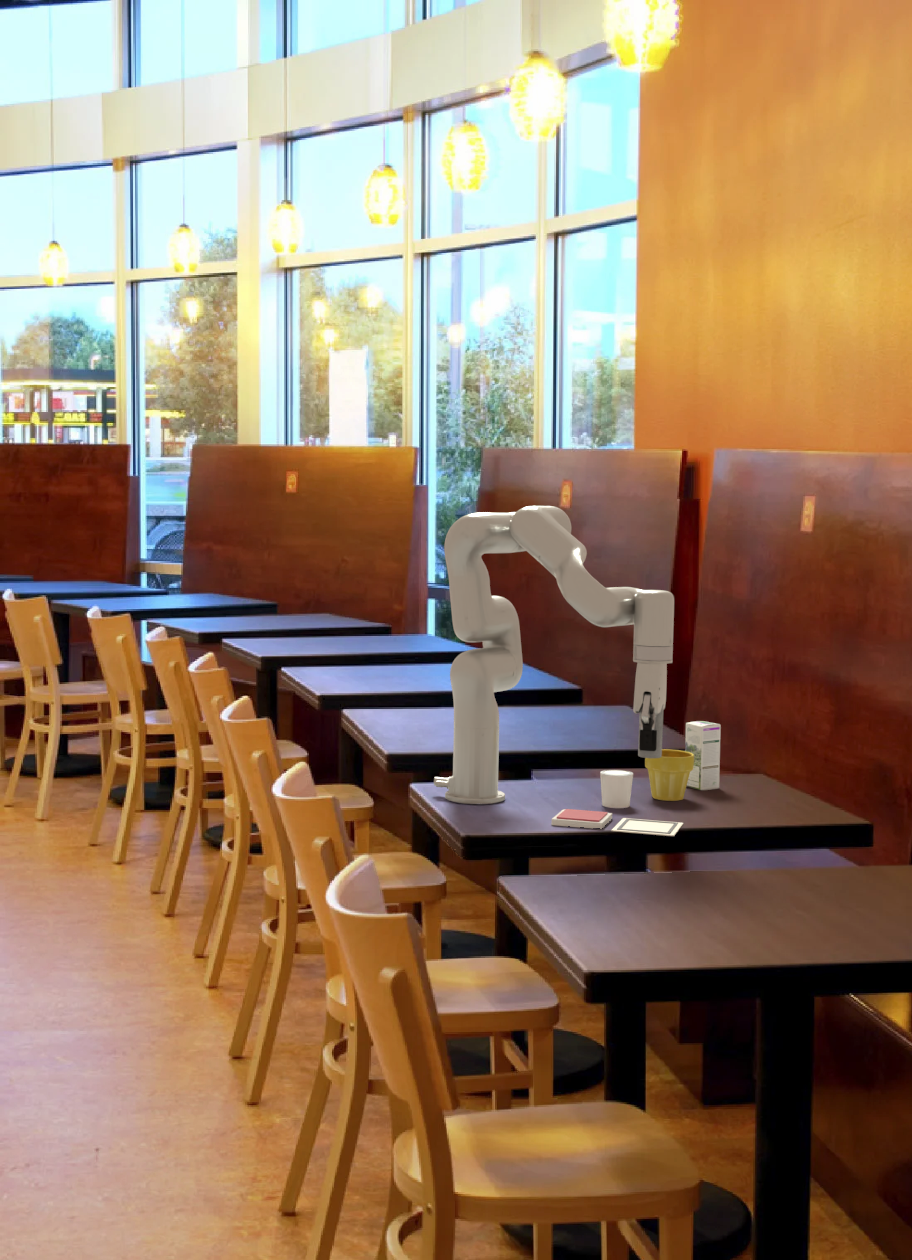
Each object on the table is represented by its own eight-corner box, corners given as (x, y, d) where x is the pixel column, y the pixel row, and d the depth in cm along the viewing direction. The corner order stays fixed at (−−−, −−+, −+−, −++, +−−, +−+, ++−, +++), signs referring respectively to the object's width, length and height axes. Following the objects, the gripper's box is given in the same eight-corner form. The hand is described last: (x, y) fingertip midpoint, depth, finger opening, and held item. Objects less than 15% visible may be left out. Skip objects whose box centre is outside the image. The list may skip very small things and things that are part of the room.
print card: (611, 831, 293) (611, 829, 293) (623, 819, 304) (623, 817, 304) (673, 836, 289) (673, 834, 289) (683, 823, 301) (683, 822, 301)
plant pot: (702, 798, 327) (703, 753, 326) (675, 805, 319) (676, 758, 319) (661, 791, 334) (662, 747, 333) (634, 797, 326) (635, 752, 325)
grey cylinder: (645, 759, 293) (647, 705, 292) (633, 755, 297) (635, 702, 296) (665, 758, 294) (667, 704, 293) (654, 754, 299) (656, 701, 298)
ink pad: (551, 825, 297) (551, 817, 297) (563, 815, 307) (563, 807, 307) (602, 829, 294) (602, 821, 294) (612, 819, 304) (612, 811, 304)
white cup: (633, 809, 314) (634, 775, 314) (600, 808, 314) (601, 774, 314) (630, 802, 321) (631, 769, 321) (598, 801, 321) (598, 768, 321)
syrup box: (720, 788, 339) (722, 723, 337) (699, 791, 336) (702, 725, 334) (703, 784, 343) (705, 720, 342) (682, 786, 340) (684, 721, 339)
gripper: (641, 649, 303) (638, 740, 305) (625, 657, 287) (622, 754, 288) (679, 651, 301) (676, 743, 302) (665, 659, 285) (662, 756, 286)
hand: (650, 747), depth 295 cm, fingers closed on grey cylinder, 4 cm apart
